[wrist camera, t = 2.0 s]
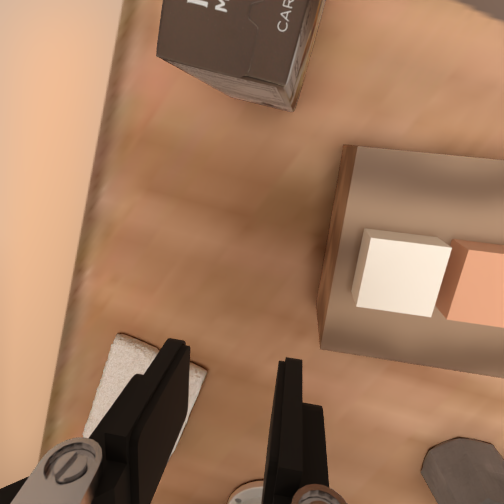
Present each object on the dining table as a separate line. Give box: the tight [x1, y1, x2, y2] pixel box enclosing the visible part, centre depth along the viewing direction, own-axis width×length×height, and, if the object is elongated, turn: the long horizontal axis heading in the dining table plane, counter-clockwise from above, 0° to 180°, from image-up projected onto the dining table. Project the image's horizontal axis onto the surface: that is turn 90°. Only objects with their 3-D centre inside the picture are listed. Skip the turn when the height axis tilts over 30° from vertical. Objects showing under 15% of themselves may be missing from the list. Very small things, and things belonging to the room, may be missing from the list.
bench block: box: [316, 145, 504, 378], centre depth 28 cm, size 16×16×8 cm
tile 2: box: [351, 228, 452, 317], centre depth 23 cm, size 5×5×2 cm
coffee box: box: [156, 0, 326, 112], centre depth 21 cm, size 9×6×16 cm
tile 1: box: [435, 239, 504, 328], centre depth 23 cm, size 5×5×2 cm
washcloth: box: [83, 334, 207, 463], centre depth 42 cm, size 12×18×3 cm, turn 159°
